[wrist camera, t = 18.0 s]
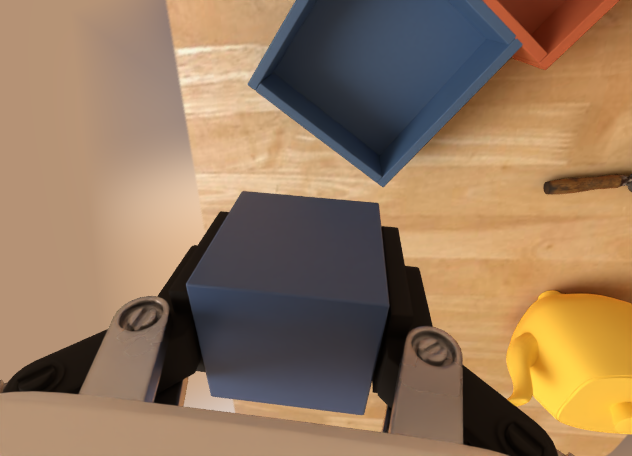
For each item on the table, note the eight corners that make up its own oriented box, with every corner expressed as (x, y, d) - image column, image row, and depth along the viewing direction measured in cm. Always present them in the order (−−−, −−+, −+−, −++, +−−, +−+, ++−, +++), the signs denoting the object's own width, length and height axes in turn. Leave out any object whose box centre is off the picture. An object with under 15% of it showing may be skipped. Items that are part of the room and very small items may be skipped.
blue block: (241, 190, 11) (184, 284, 8) (379, 202, 11) (389, 306, 7) (250, 289, 14) (210, 397, 10) (362, 301, 13) (363, 416, 10)
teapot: (453, 342, 38) (481, 444, 29) (486, 267, 32) (536, 367, 23) (618, 363, 38) (699, 474, 29) (685, 290, 31) (814, 403, 22)
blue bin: (264, 72, 25) (247, 84, 21) (365, -99, 19) (367, -125, 16) (379, 162, 28) (383, 188, 24) (496, 36, 22) (525, 43, 18)
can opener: (539, 190, 27) (546, 197, 26) (549, 163, 26) (556, 169, 25) (664, 190, 26) (676, 197, 25) (680, 161, 25) (693, 168, 24)
